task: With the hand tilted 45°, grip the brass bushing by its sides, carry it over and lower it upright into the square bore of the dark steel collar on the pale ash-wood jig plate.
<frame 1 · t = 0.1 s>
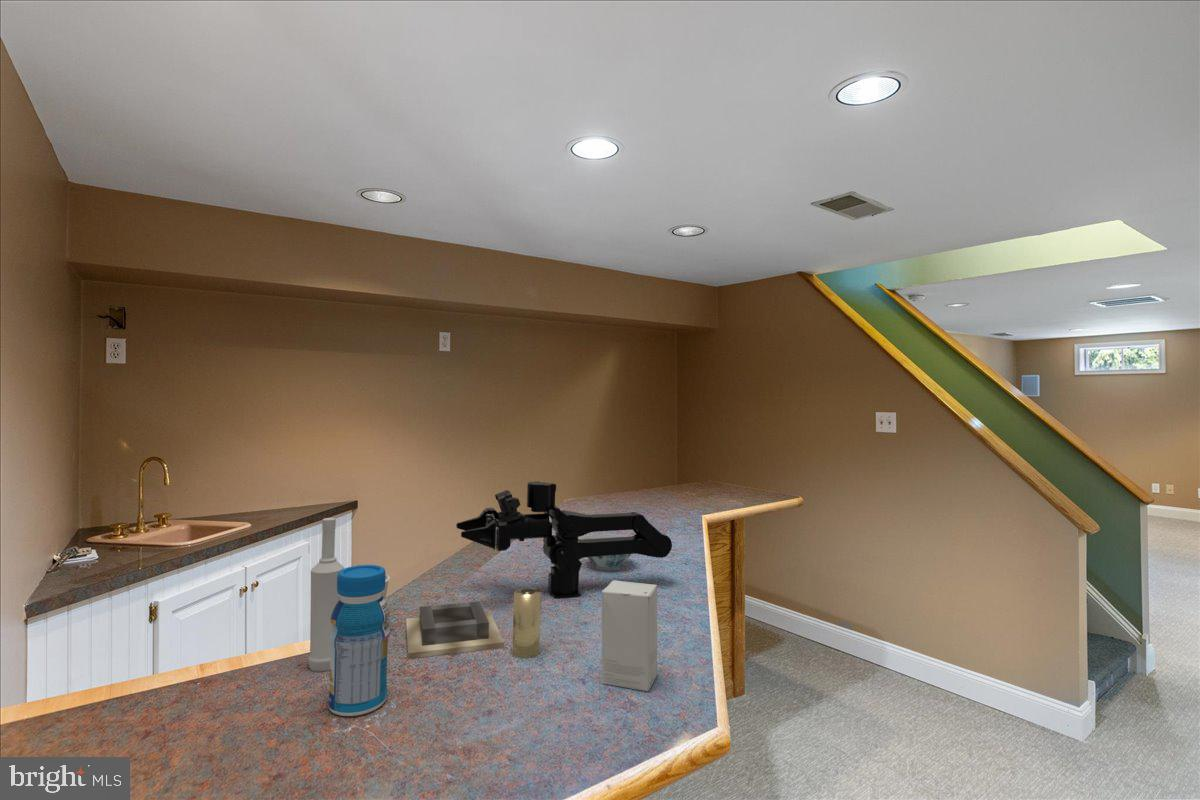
hand: (458, 529, 131), 17 cm above the counter, tool horizontal, fingers open, 9 cm apart
beverage bottle: (357, 704, 87), on the counter
skincare box: (628, 681, 96), on the counter
brass bushing: (525, 652, 106), on the counter
bottle: (324, 666, 99), on the counter
jig plate: (452, 635, 113), on the counter
dixie cup: (366, 629, 115), on the counter
chinaware: (607, 568, 162), on the counter
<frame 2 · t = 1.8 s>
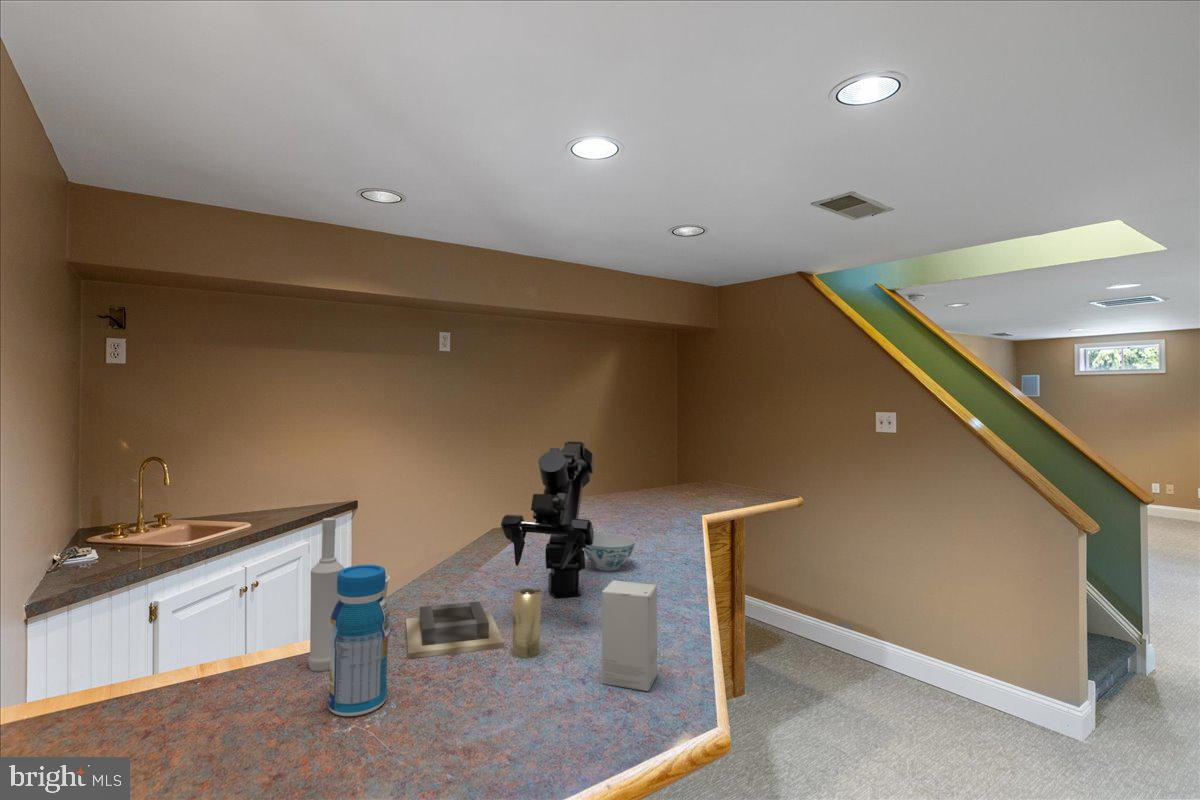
hand: (538, 566, 114), 14 cm above the counter, tool tilted 45°, fingers open, 9 cm apart
nothing on the counter moved.
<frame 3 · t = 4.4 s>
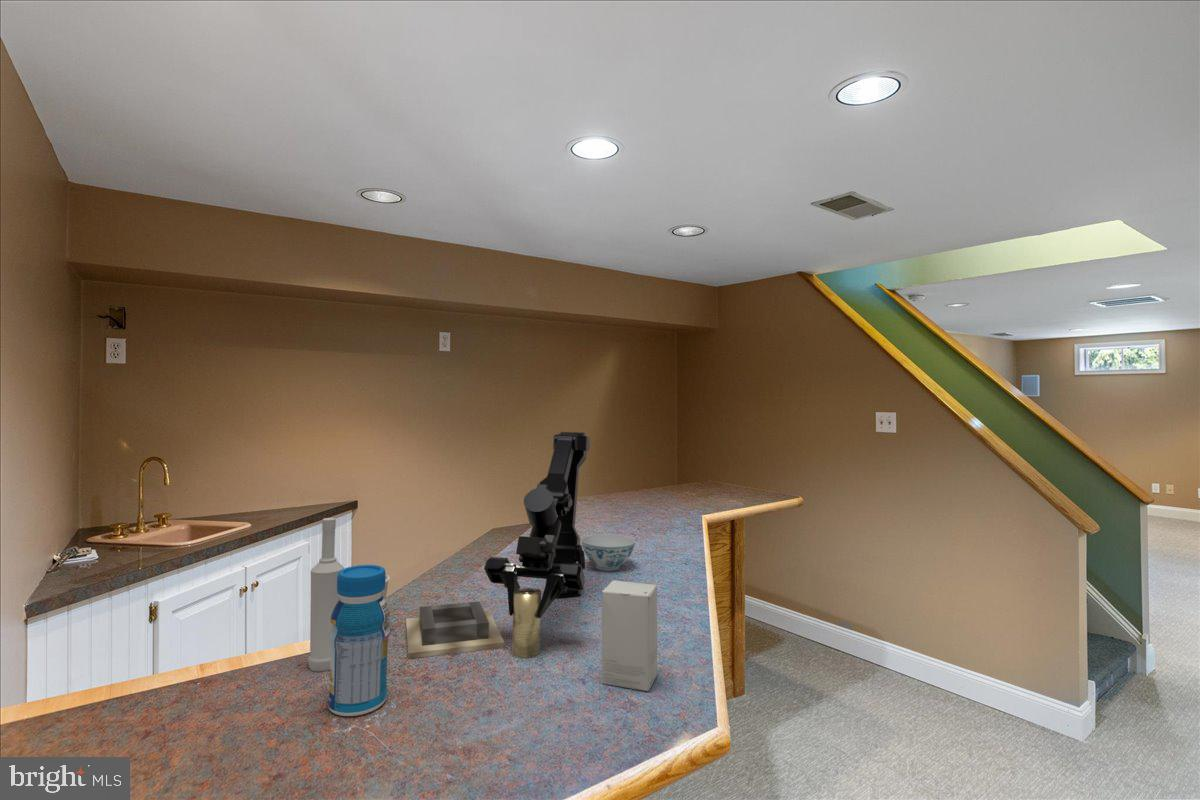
hand: (524, 615, 105), 7 cm above the counter, tool tilted 45°, fingers closed on brass bushing, 5 cm apart
brass bushing: (525, 651, 106), on the counter, touching gripper
everything else where it was.
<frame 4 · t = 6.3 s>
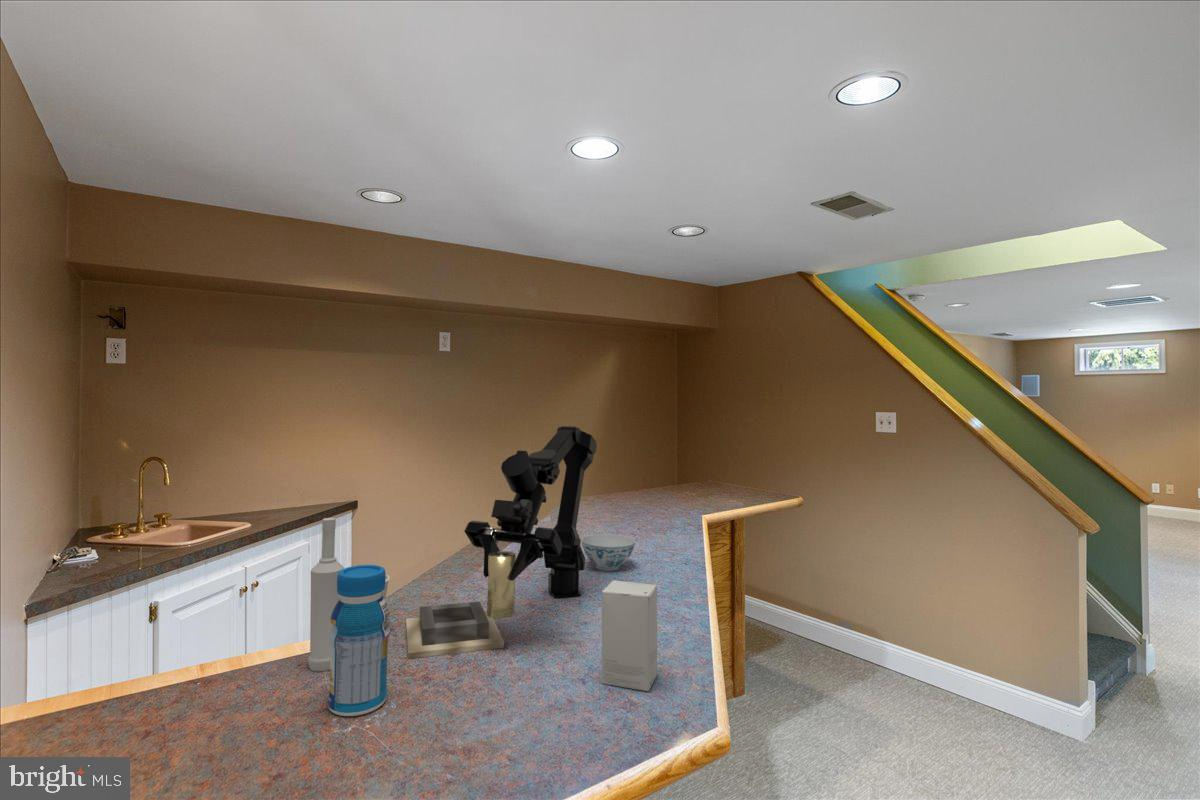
hand: (497, 577, 106), 13 cm above the counter, tool tilted 45°, fingers closed on brass bushing, 5 cm apart
brass bushing: (500, 613, 107), point 6 cm above the counter, touching gripper
everything else where it was.
when the fingers open (9 cm above the counter, at t = 8.5 s): brass bushing stays where it is, resting on jig plate.
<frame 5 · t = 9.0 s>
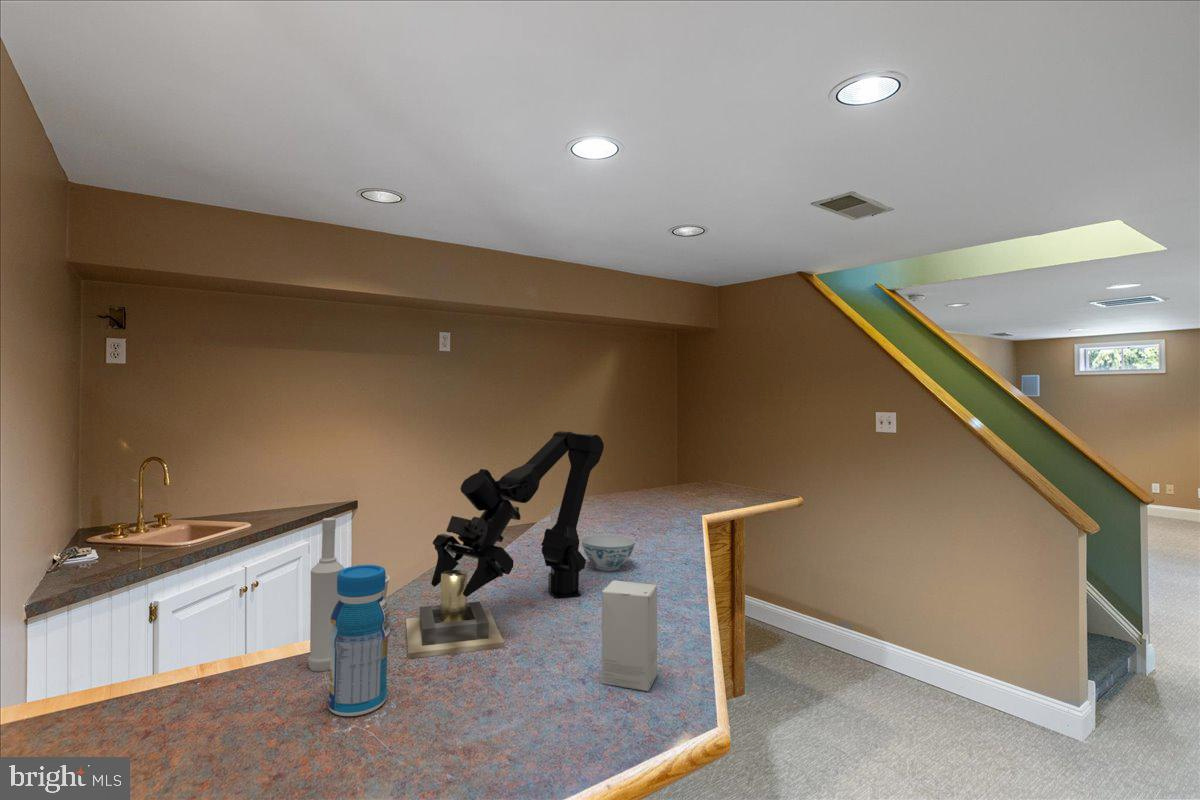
hand: (448, 590, 112), 9 cm above the counter, tool tilted 45°, fingers open, 9 cm apart
brass bushing: (452, 629, 113), point 1 cm above the counter, touching jig plate
everything else where it was.
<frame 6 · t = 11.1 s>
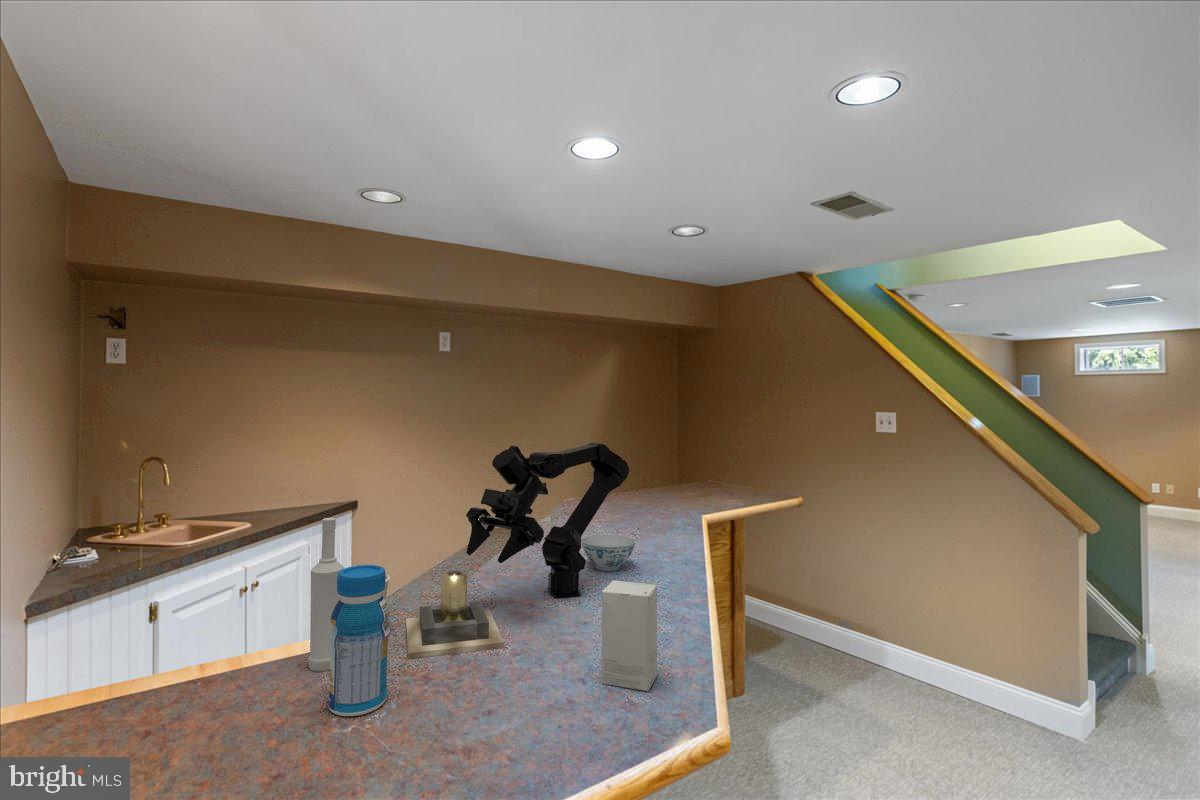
hand: (483, 558, 119), 13 cm above the counter, tool tilted 45°, fingers open, 9 cm apart
nothing on the counter moved.
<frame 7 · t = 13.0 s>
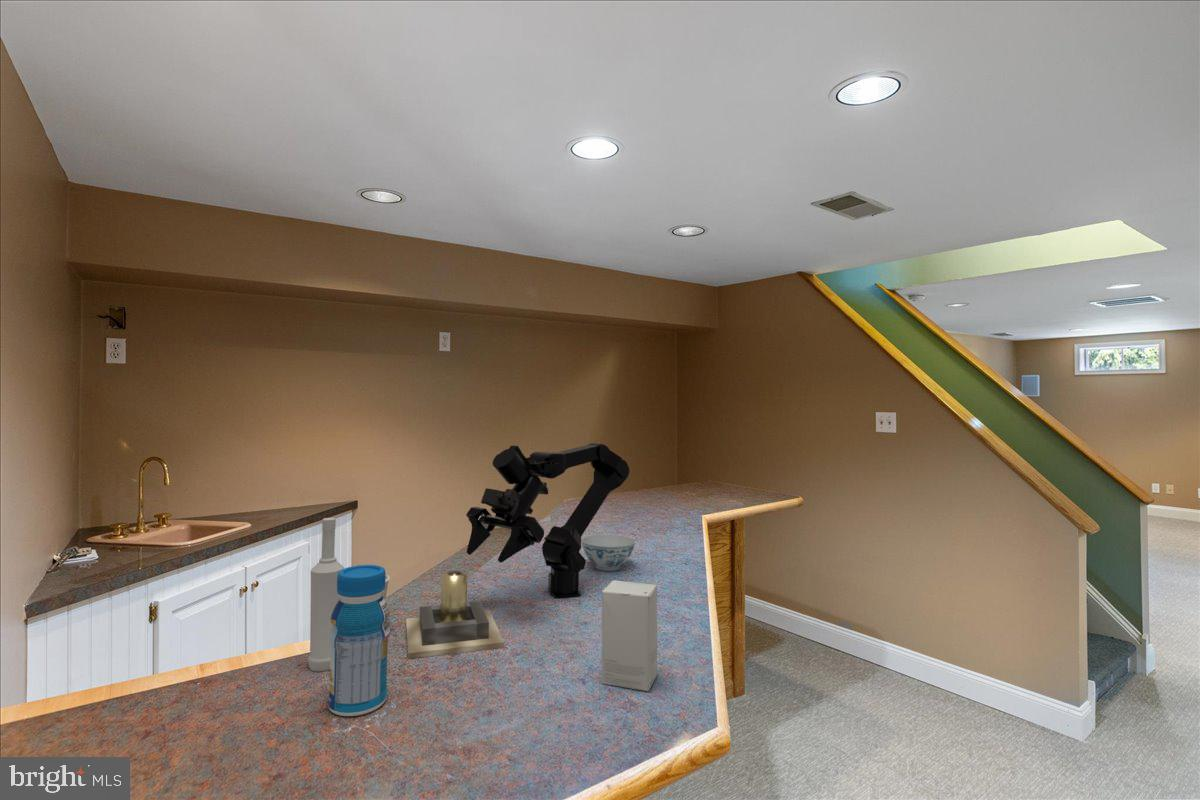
hand: (483, 557, 119), 14 cm above the counter, tool tilted 45°, fingers open, 9 cm apart
nothing on the counter moved.
at the end: brass bushing 0.0 cm off-centre on the jig plate, point 1.0 cm above the jig plate's base; brass bushing tilted 0°; the gripper is holding nothing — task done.
